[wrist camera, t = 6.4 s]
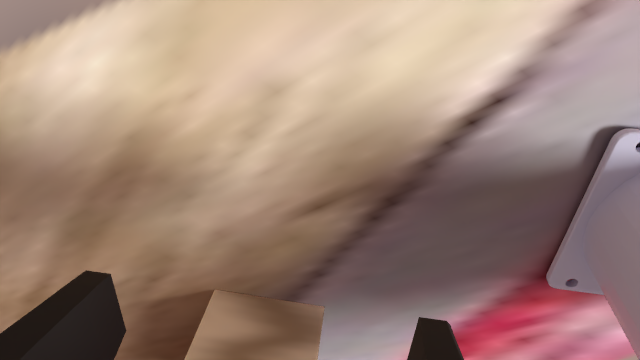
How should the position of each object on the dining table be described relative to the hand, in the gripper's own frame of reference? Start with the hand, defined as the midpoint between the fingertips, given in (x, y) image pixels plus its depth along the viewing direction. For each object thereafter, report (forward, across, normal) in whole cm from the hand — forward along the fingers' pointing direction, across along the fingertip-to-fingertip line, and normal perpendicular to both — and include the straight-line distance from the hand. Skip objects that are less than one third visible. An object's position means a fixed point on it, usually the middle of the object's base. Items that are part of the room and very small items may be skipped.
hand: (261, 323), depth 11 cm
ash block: (+10, +2, +13) cm, 16 cm away
